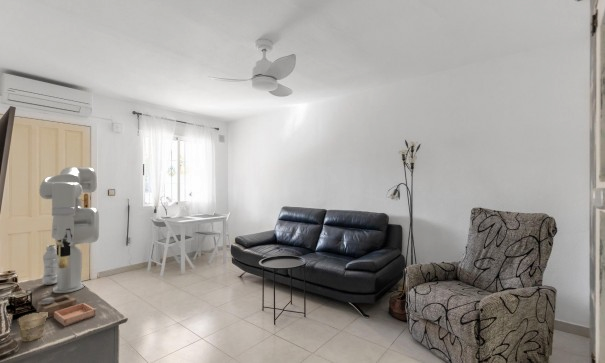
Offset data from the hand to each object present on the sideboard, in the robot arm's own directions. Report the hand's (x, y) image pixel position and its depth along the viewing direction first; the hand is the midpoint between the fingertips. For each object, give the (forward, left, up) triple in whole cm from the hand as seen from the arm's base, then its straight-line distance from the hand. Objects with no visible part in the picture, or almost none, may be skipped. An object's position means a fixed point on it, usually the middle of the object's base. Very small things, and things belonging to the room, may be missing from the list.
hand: (63, 255), depth 118 cm
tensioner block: (-2, -1, -24) cm, 24 cm away
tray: (+10, +1, -24) cm, 26 cm away
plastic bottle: (-41, +8, -24) cm, 48 cm away
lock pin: (0, 0, -5) cm, 5 cm away
